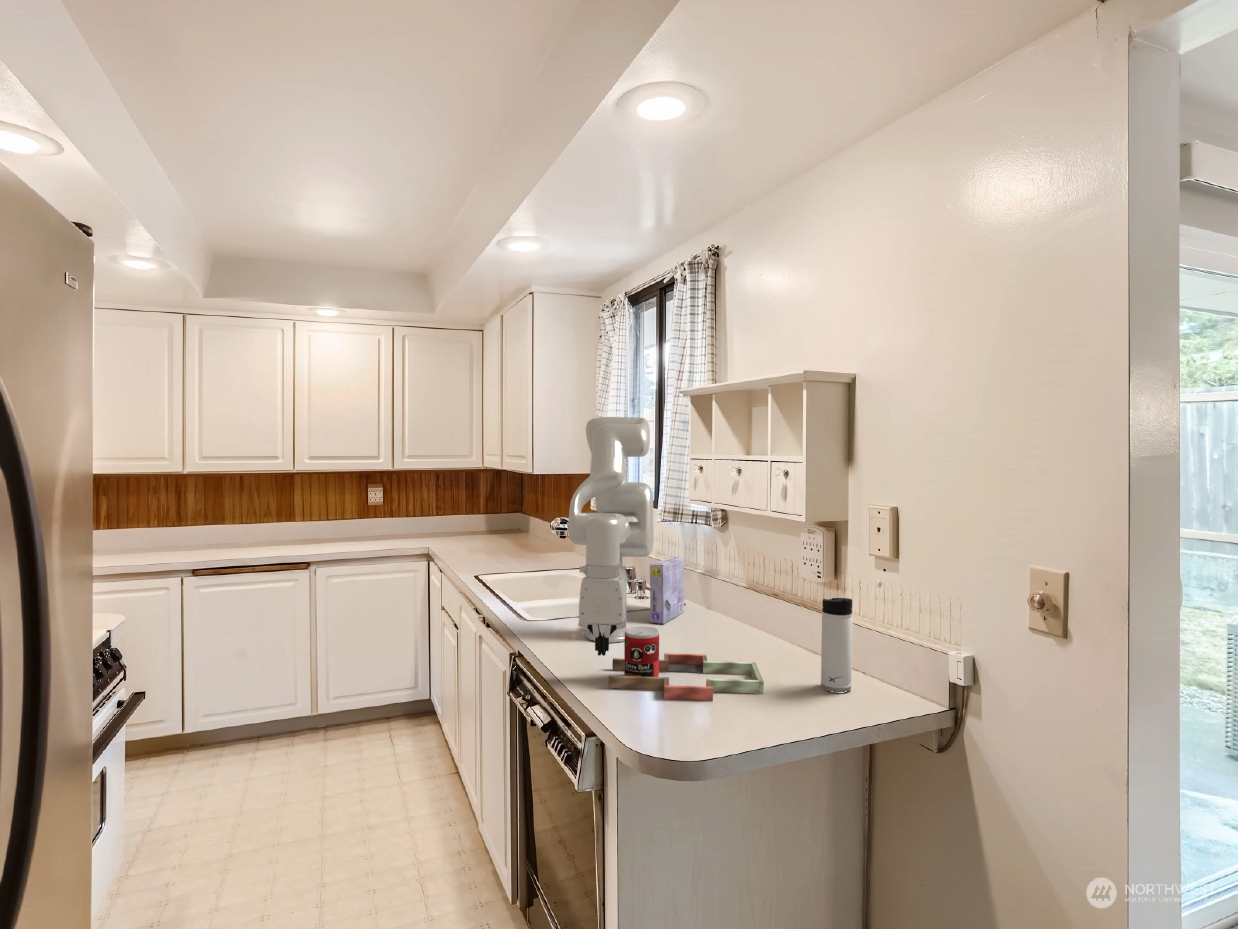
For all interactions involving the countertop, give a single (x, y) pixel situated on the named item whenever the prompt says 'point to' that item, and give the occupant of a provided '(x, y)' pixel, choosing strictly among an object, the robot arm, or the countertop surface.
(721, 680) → the box
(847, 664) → the travel mug
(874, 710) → the countertop surface
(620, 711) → the countertop surface
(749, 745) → the countertop surface
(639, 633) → the canned food
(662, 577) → the cake pan box
